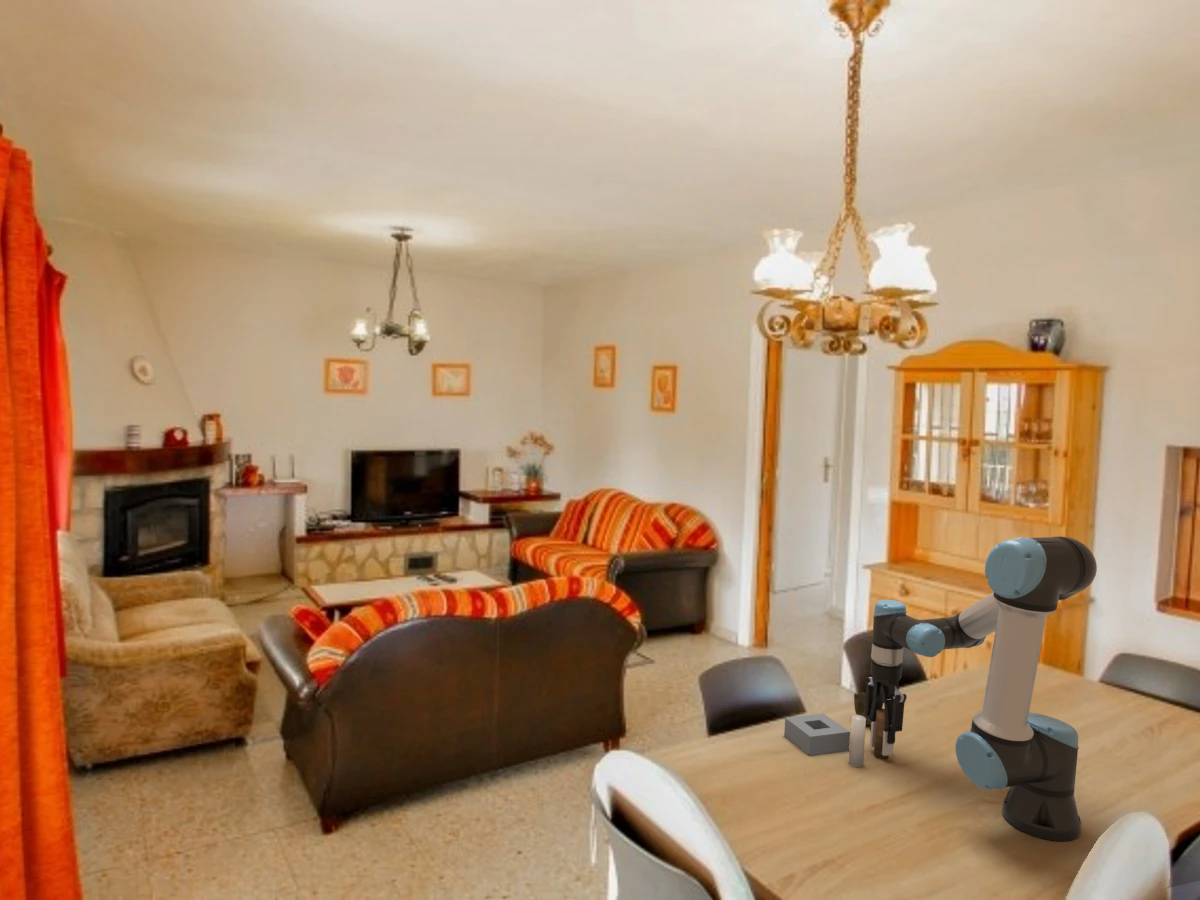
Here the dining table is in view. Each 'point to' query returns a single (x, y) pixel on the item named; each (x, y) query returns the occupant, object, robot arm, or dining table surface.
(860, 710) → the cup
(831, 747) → the socket block
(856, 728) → the pale grey cylinder
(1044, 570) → the robot arm
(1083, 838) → the dining table surface
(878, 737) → the walnut peg
